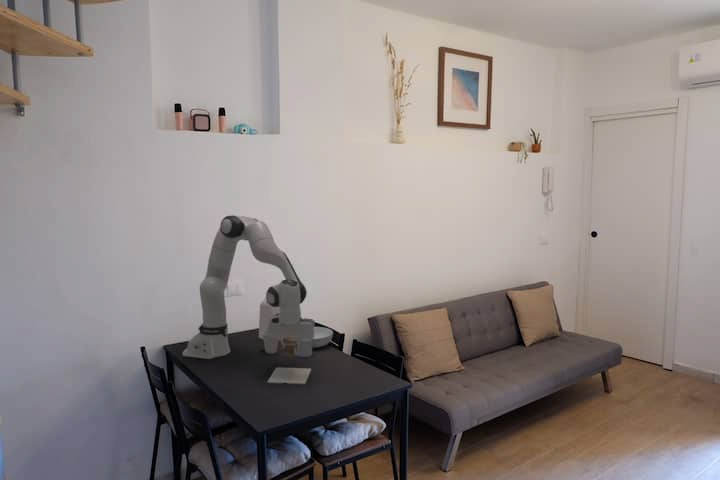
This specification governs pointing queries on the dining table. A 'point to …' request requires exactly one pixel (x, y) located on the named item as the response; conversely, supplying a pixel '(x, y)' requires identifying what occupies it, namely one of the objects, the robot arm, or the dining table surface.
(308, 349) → the medicine box
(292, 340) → the wooden block
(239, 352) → the dining table surface
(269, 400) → the dining table surface
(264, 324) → the milk
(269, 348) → the dixie cup
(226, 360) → the dining table surface
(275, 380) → the mat
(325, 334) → the serving bowl
